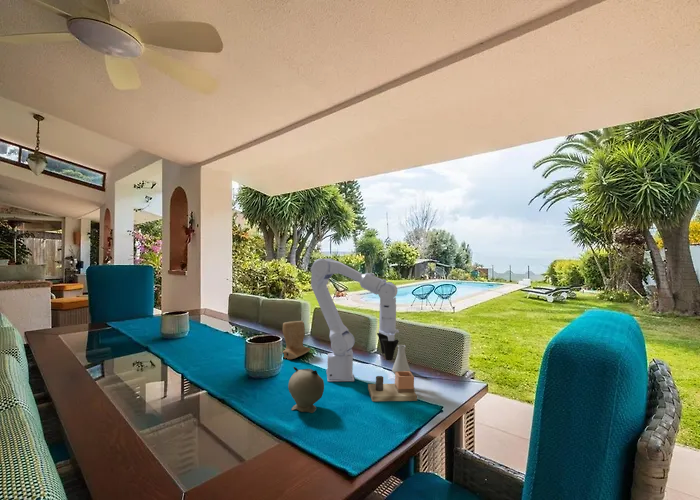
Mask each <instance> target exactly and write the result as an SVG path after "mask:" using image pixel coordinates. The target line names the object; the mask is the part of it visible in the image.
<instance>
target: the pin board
mask: <svg viewBox="0 0 700 500" xmlns="http://www.w3.org/2000/svg"><path fill="white" fill-rule="evenodd" d="M367 390H368V392H369V396H370V398H371V401H372V402H408V401H409V402H412V401H414V402H415V401H417V402H418V394H417V393H416V391H415V390H414V393H398V391H397V390H396V388H395V383H384V376H382V375H377V376H375V383H368V384H367Z"/></svg>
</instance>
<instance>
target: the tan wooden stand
mask: <svg viewBox="0 0 700 500" xmlns="http://www.w3.org/2000/svg"><path fill="white" fill-rule="evenodd" d="M305 327H306V326H305V321H303V320H293V321H285V322H283V323H282V334H283V338H284V341H285V345H286V346H285V349H284V350H283V353H284V357H283V358H284V359H286V358H287V360H293V359H294V360H295V359H296V358H298V357H301V356H303V355H305V354H306V353H307V354H308V353H309V352H310V351H311V348H309V347H306V346H304V339H305V333H306V329H305Z"/></svg>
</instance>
